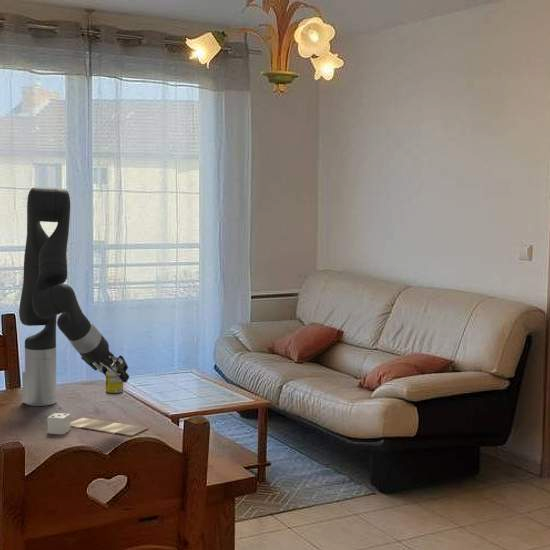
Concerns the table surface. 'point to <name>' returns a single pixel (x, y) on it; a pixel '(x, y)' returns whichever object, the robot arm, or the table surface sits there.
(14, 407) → the table surface
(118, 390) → the supplement bottle
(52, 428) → the die
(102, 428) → the track
